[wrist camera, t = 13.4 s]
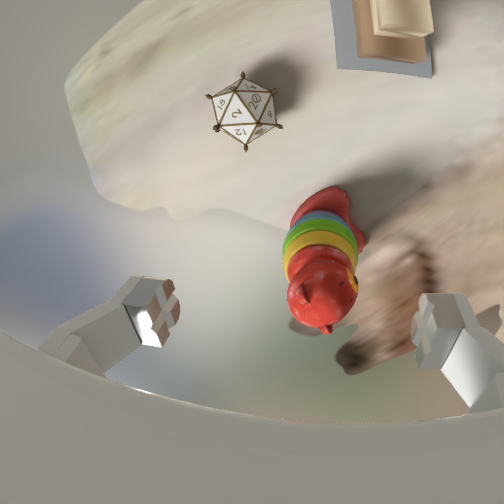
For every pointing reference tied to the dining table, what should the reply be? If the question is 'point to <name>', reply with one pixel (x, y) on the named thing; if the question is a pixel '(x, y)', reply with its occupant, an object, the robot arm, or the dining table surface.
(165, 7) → the dining table surface
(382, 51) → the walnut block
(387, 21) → the oak block
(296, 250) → the stacking bear
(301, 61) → the dining table surface
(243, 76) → the game die
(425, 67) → the base plate
